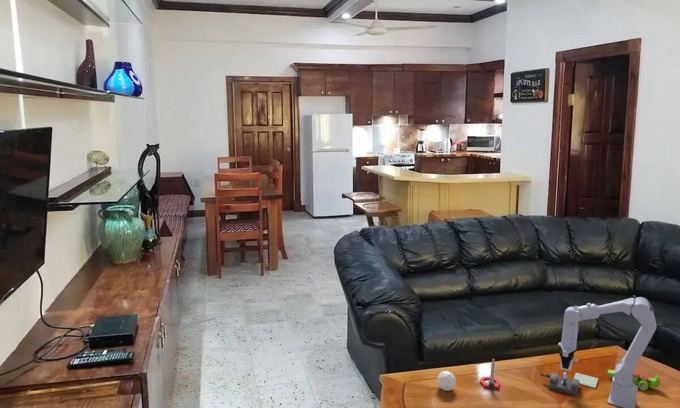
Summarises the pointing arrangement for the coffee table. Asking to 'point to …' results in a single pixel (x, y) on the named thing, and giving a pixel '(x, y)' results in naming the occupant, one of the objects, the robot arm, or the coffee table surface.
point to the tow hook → (492, 380)
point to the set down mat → (586, 380)
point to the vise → (563, 383)
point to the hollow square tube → (569, 365)
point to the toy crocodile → (640, 380)
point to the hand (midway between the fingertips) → (566, 365)
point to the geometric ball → (446, 380)
